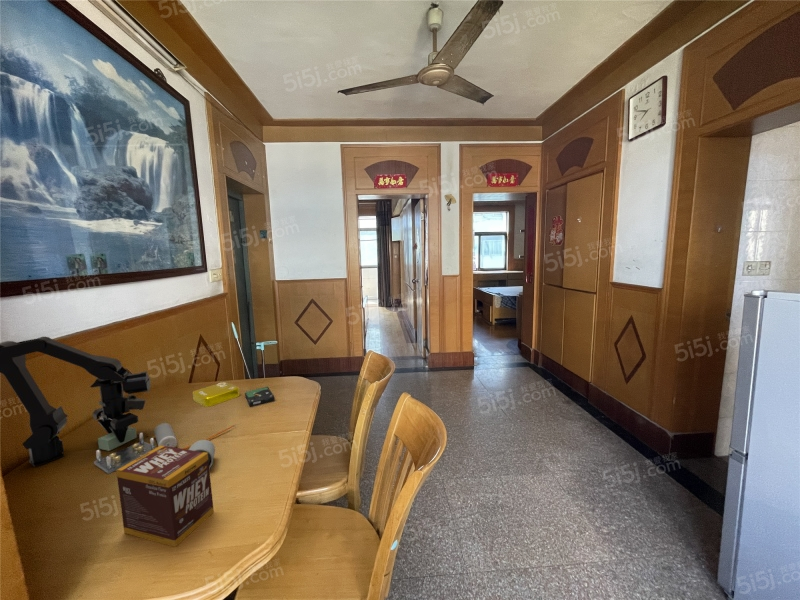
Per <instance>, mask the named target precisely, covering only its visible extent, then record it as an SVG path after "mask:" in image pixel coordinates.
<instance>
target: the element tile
mask: <svg viewBox="0 0 800 600" xmlns="http://www.w3.org/2000/svg"><path fill="white" fill-rule="evenodd" d="M239 396H240V387H239V386H237V385H234V384H232V383H229V382H226V381H222V382H219V383H215V384H213V385H209V386H207V387H202V388H199V389H196V390H194V391H192V397H193V399H192V400H193V402H195V403H197V404H199V405H201V406H203V407H205V408H208V407H209V408H210V407H213V406H215V405H216V406H217V405H218V404H222V403H224V402H226V401H231V400H234V399H235V398H238V397H239Z"/></svg>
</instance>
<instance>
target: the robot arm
mask: <svg viewBox="0 0 800 600" xmlns="http://www.w3.org/2000/svg"><path fill="white" fill-rule="evenodd" d="M37 352H38V353H41V354H44V355H47V356H49V357H53V358H55V359H58V360H61V361H63V362H66V363H69V364H71V365H74V366H76V367H77V366H78V367H80V368H82V369H83V370H85V371H86V372H87V373H88V374H90V375H91V376H93V377H95V378H96V379H95V381H94V382H93V383H92V384H91V385H90V388H91V389H92V388H98V387H99V392H100V393H99V395H100V400H98V405H101V407H99V408H96V409H95V410H94V411H92V418H93V419H94V420H96V421H97V423H98V424H99V425H100V426H101V428H103V429H104V431H105V432H106V433H107V434H110V433H112V432H113V434H114V435H115V436H116V438H117V439H118V441H119V442H120V443H122V442H124V440H125V436H126V432H127V429H128V427H130V426H131V425H134V424H136V423H139V415H136V414H134V413H131V410H139V411H142V410H144V408H145V403H146V399H143V398H139V397H137V396H136V395H135V394H137V393H143V392H149V391H150V390H151V378H150V375H149V374H148V371H147V370H146V371H145V370H144V371H141V372H136V373H135V372H134V373H131V371H129V370H128V369H126V368H125V366H123V365H122V362H121V361H120V360H119V359H117V358H113V357H109V356H105V355H104V356H103V355H95V354H91V353H89V352H86V351H83V350H81V349H79V348H75V347H73V346H70V345H67V344H65V343H62V342H59V341H57V340H54V339H53V338H50V337H49V336H40V337H37V338H32V339H26V340H23V341H17V342H16V341H13V340H7V341H2V342H0V374H2V375H3V376H4V378H5V379H6V381H7V382H8V384H9V385H10V387H11V389H12V390H13V391H14V394H15V395H16V396H17V398H18V399H19V401H20V402H21V404H22V406H23V407H24V410H26V411H27V413H28V415H29V428H30V431H31V434H30V436H29V437H27V438H26V439H25V440H24V442H22V446H23V447H24V448H25V450H28V453H29V460H28V462H29V463H30V464H31V465H32V466H33V467H35V468H36V467H39V466H42V465H44V464H47V463H49V462H52V461H55V460H57V459H58V460H59V459H60V458H63V457H65V454H64V452H65V451H64V445H63V444H64V443H63V440H61V439H60V437H59V436H58V434H60V433H61V430H63V428H64V427H66V425H67V422H68V419H67V418H68V417H69V415H68V414H66V413H65V412H64V411H65V410H64V408H63V407H62V406H58V407H57V408H55V407H54V406H52V405H50V403H49V401H48V400H47V398H46V397H45V395H44V393H43V392H42V390H41V388H40V387H39V386H38V384H37V382H36V381H35V379H34V377H33V376H32V374H31V372H30V371H29V370H28V368H27V365H26V364H27V363H26V361H27V360H26V359H27V358H26V357H27V356H26V355H29V354H33V353H37ZM124 393H125V394H128V395H127V397H126V396H124Z"/></svg>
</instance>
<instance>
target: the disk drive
mask: <svg viewBox="0 0 800 600" xmlns="http://www.w3.org/2000/svg"><path fill="white" fill-rule="evenodd" d="M244 396H245V399H246V401H247V404H248V406H249V408H252V407H257V406H261V405H266V404H269V403H273V402H275V399H276V398H275V395H274V394H273V392H272V391H271V389H270V388H269V386H264V387H260V388H256V389H252V390H246V391H245V392H244Z"/></svg>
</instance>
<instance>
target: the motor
mask: <svg viewBox="0 0 800 600" xmlns="http://www.w3.org/2000/svg"><path fill="white" fill-rule="evenodd" d="M236 425H237V424H236V423H235V424H234V425H231V426H229V427H227V428H226V429H224V430H221V431H220V432H217V433H216V434H214V435H212V436H210V437H208V438H206V439H204V440H209V441H213V440H214V439H216V438H218V437H219V436H222V435H224V434H226V433H228V432H229V431H231V430H233V428H234V427H235V426H236ZM153 433H154V436H155V440H156V445H157V447H159V446H161V445H162V446H168V447H175V448H177V445H178V440H177V438H176V434H175V433H174V430H173V428H172V426H171V424H170V423H167V422H162V423H159V424H158V425H157V426H156V427H155V428H154V430H153ZM192 445H193V444H192ZM192 445H189V446H186V447H182V448H181V447H180V448H181V449H187V450H189V448H190V447H191V446H192Z"/></svg>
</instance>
